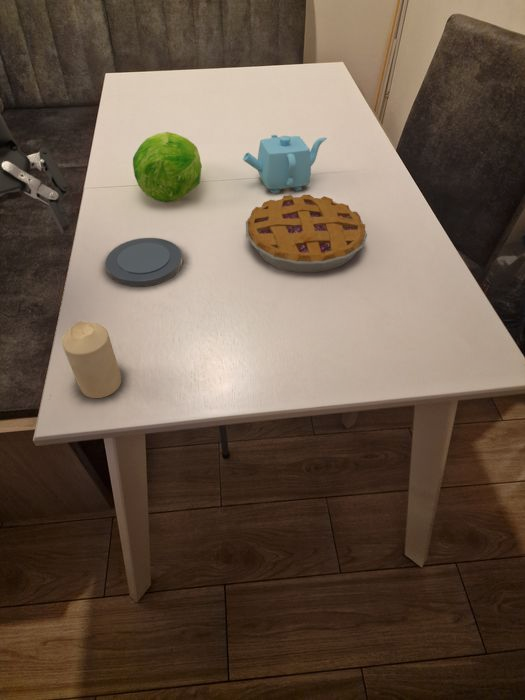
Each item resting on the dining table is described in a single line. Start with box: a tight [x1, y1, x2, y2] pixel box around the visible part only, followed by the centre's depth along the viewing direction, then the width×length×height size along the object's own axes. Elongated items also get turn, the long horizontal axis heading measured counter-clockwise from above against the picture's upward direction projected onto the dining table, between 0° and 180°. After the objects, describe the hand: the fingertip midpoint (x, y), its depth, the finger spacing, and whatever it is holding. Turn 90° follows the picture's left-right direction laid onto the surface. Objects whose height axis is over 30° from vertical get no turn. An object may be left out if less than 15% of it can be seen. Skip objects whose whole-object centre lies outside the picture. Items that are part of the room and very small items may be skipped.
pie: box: [245, 194, 368, 273], centre depth 88 cm, size 22×22×5 cm
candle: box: [61, 320, 122, 399], centre depth 62 cm, size 6×6×10 cm
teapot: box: [242, 134, 328, 194], centre depth 103 cm, size 18×14×10 cm
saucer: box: [105, 237, 183, 288], centre depth 84 cm, size 13×13×1 cm
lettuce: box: [132, 131, 203, 204], centre depth 100 cm, size 14×20×12 cm
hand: (32, 243), depth 60 cm, fingers open, 8 cm apart
